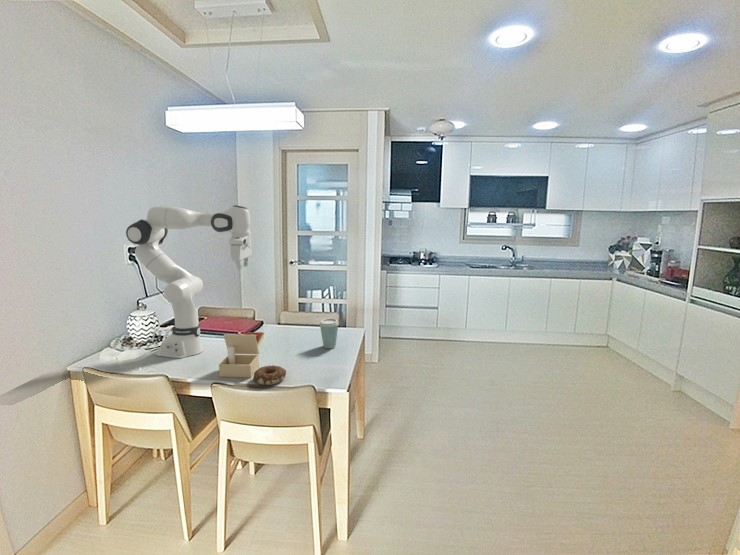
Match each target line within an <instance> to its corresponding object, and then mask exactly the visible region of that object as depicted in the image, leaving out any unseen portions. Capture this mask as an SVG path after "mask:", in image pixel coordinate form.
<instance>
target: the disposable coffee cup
mask: <svg viewBox="0 0 740 555" xmlns="http://www.w3.org/2000/svg"><path fill="white" fill-rule="evenodd" d="M339 324H340V323H339V321H338V319H337V318H333V317H330V318H329V317H328V318H324V319H322V320H320V322H319V327H320V334H321V340H322V345H323V348H325V349H334V348H336V345H337V338H338V329H339Z"/></svg>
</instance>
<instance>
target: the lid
mask: <svg viewBox="0 0 740 555" xmlns="http://www.w3.org/2000/svg"><path fill="white" fill-rule="evenodd" d="M223 337H224V341H225V345H226V349H227V351H228V347H229V346H234V347H235V355H260V352H259V348H258V346H257V341H256V336H255V335H243V334H232V333H231V334H230V333H229V334H226V333H225V334H223Z"/></svg>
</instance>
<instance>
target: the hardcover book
mask: <svg viewBox="0 0 740 555" xmlns="http://www.w3.org/2000/svg"><path fill="white" fill-rule="evenodd" d="M242 335H255V336H256V341H257V346H258V349H259V347H260V346H261V344H262V343H263V341H264V339H265V332H263V331H262V332H258V331H255V332H253V331H252V332H251V331H250V332H247V333H244V332H243V333H242Z"/></svg>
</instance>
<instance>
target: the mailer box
mask: <svg viewBox="0 0 740 555" xmlns="http://www.w3.org/2000/svg"><path fill="white" fill-rule="evenodd" d="M259 360H260V359H259V354H235V347H234V346H229V347H228V350H227V356H226V357H225V358H223V360H222V361H221V362H220V363H219V364H218V369H219V370H218V371H219V373H218V374H219V378H232V379H235V378H236V379H238V378H239V379H240V378H241V379H252V377H254V373H255V371H256V370H258V369H259V367H260V364H259V363H260V362H259Z"/></svg>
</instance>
